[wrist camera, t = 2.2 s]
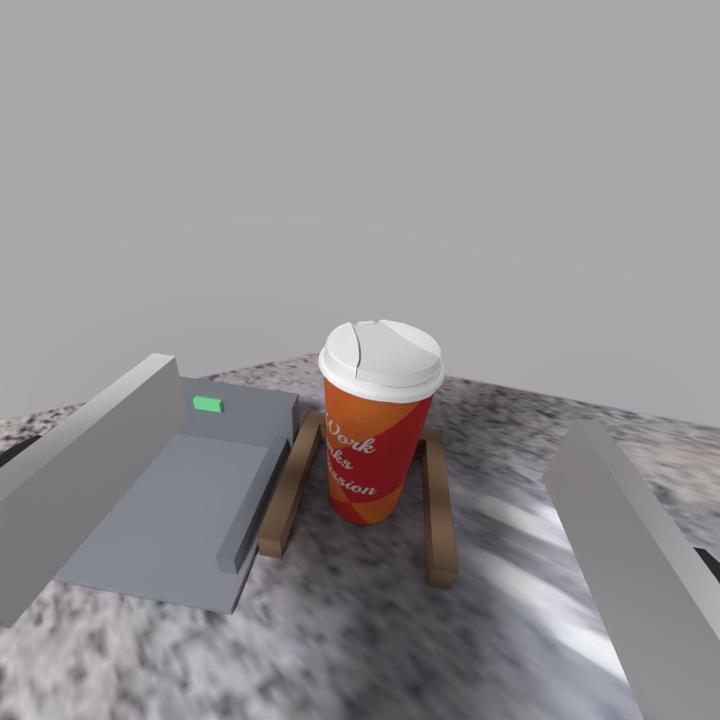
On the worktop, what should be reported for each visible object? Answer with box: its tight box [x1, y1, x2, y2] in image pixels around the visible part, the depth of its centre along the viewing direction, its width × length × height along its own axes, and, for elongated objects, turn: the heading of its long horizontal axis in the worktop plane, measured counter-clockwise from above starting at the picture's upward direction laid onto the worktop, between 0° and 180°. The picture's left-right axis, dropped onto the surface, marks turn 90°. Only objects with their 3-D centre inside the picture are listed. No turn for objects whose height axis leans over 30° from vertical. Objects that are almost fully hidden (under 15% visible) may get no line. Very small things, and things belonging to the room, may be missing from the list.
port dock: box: [52, 377, 299, 615], centre depth 26 cm, size 15×15×6 cm
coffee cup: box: [319, 320, 445, 525], centre depth 25 cm, size 8×8×15 cm
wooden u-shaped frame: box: [257, 411, 458, 589], centre depth 28 cm, size 13×14×2 cm
